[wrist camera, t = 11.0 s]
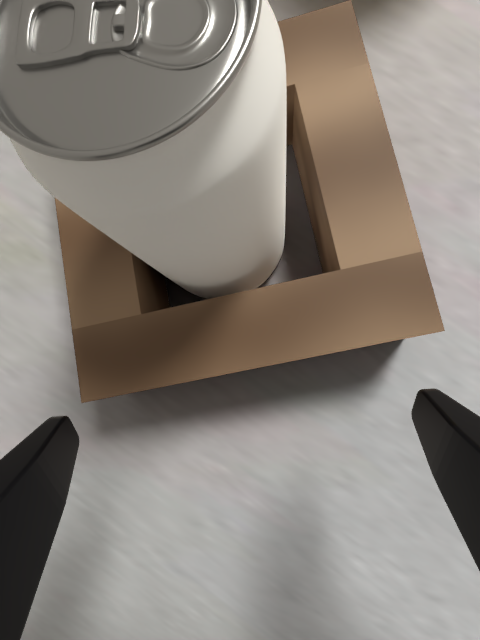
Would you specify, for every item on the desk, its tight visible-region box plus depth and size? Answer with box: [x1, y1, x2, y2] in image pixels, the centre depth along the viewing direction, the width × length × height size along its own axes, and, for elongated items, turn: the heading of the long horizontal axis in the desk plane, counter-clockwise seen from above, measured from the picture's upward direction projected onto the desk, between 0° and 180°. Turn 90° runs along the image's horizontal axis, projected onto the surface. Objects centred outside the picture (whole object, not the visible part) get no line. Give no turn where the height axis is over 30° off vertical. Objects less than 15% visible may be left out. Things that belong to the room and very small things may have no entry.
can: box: [0, 0, 287, 299], centre depth 12 cm, size 6×6×12 cm
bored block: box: [55, 0, 445, 403], centre depth 16 cm, size 14×14×4 cm
